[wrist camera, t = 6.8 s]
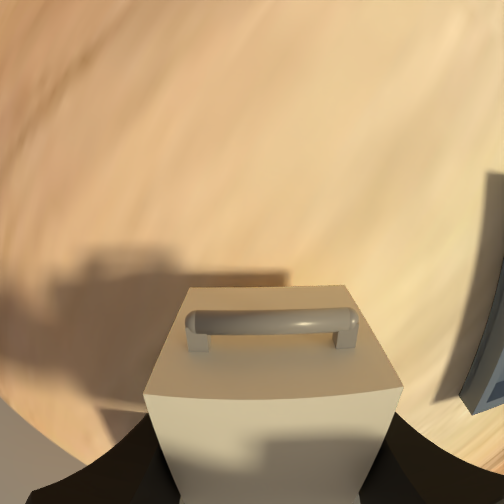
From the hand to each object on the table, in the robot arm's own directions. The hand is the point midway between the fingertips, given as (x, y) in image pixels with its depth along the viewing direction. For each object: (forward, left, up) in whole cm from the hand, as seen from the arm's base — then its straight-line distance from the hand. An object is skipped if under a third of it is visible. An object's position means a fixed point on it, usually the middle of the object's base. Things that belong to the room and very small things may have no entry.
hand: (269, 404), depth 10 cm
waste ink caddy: (0, 0, -2) cm, 2 cm away
